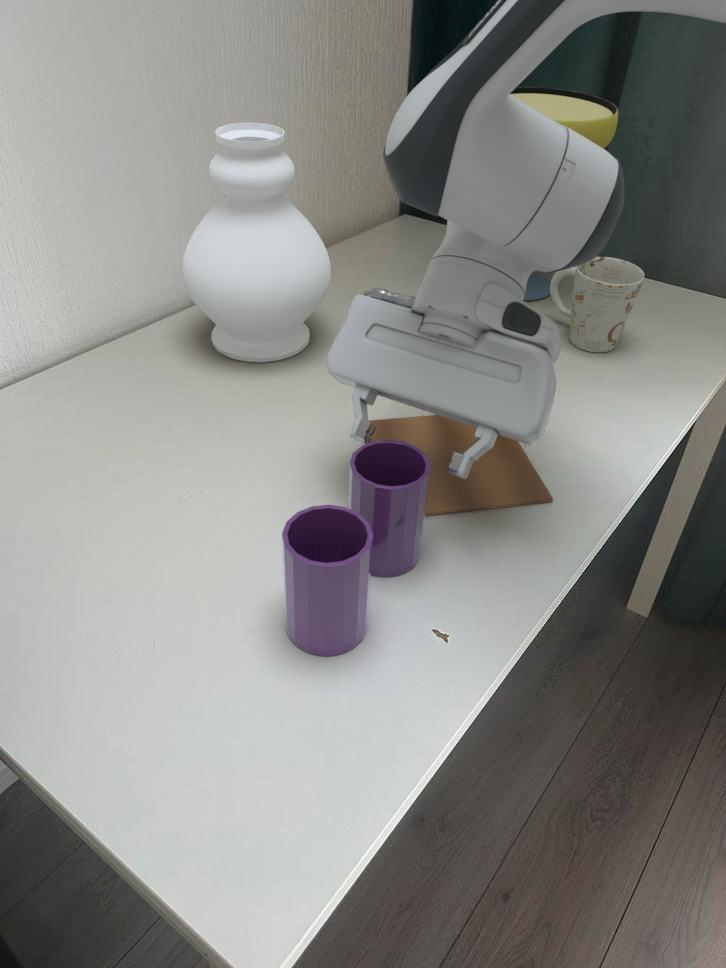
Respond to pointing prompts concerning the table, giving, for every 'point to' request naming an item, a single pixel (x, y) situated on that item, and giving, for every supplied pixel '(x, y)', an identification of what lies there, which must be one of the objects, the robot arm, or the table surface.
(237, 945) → the table surface
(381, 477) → the cup
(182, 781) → the table surface
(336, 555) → the cup
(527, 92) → the cocktail glass
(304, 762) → the table surface
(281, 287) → the decorative vase
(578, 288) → the mug
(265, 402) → the table surface
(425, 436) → the mat
